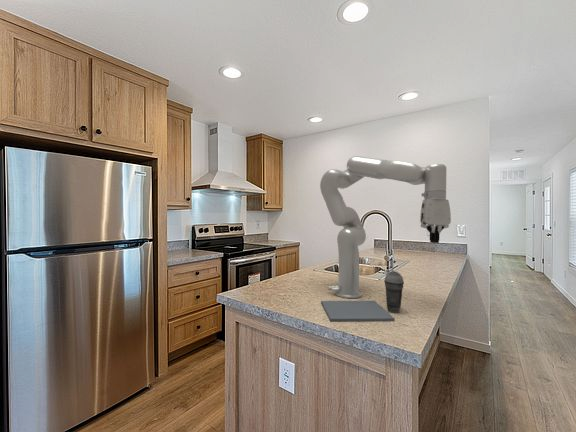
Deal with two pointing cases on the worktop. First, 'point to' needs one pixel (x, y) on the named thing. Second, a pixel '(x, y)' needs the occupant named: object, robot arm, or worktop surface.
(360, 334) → the worktop surface
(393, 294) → the beverage cup
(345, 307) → the rubber mat
